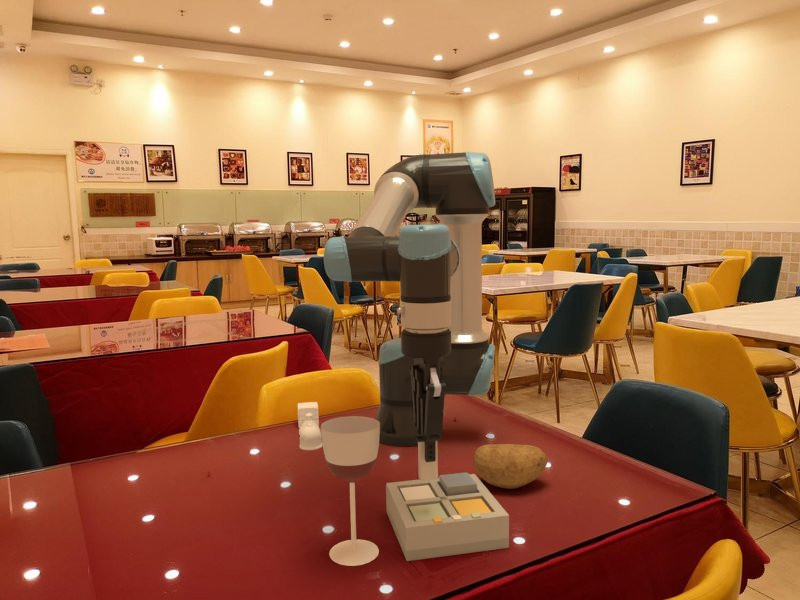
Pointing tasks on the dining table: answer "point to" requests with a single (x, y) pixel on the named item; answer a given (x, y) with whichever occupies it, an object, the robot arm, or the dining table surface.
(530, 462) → the potato
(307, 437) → the container set
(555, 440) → the dining table surface
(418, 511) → the key sage
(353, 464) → the wineglass
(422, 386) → the robot arm
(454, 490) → the key slate
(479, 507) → the key amber
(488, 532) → the keypad
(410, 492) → the key ivory
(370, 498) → the dining table surface
